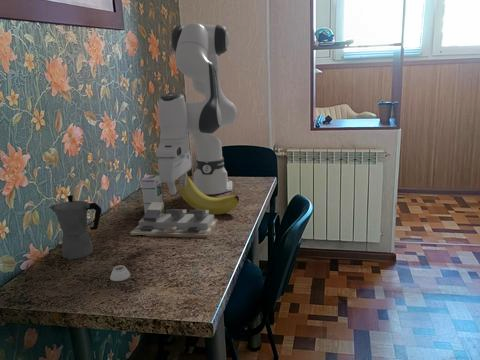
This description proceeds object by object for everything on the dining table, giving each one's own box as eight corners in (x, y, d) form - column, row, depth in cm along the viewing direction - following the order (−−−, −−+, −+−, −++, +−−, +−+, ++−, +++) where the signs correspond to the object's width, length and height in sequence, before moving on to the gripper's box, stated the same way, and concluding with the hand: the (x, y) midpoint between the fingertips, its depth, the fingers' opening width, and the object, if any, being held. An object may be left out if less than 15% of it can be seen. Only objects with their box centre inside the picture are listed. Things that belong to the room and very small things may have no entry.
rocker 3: (196, 217, 151) (196, 209, 152) (208, 217, 151) (208, 210, 151) (188, 217, 143) (189, 209, 143) (201, 217, 142) (201, 210, 142)
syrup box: (159, 216, 160) (155, 178, 157) (144, 216, 161) (140, 178, 158) (164, 211, 166) (161, 174, 162) (150, 211, 167) (146, 174, 163)
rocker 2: (174, 216, 153) (174, 209, 153) (186, 216, 152) (186, 209, 152) (165, 217, 144) (165, 209, 144) (178, 217, 143) (178, 209, 143)
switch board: (147, 220, 157) (147, 214, 156) (217, 221, 152) (217, 216, 152) (130, 235, 142) (129, 229, 142) (207, 237, 138) (207, 231, 137)
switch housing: (149, 218, 155) (148, 213, 155) (214, 219, 151) (213, 214, 151) (139, 227, 147) (138, 221, 146) (207, 229, 143) (207, 223, 142)
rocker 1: (153, 207, 154) (151, 202, 153) (164, 208, 154) (163, 202, 152) (144, 223, 147) (143, 217, 146) (156, 223, 146) (155, 217, 145)
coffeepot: (48, 259, 126) (39, 200, 122) (64, 246, 135) (56, 191, 131) (100, 259, 125) (92, 199, 120) (112, 246, 134) (105, 190, 129)
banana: (241, 211, 162) (239, 159, 157) (238, 217, 156) (235, 162, 152) (184, 210, 167) (180, 159, 162) (178, 214, 161) (174, 162, 156)
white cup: (131, 273, 116) (112, 274, 115) (130, 262, 115) (111, 264, 115) (128, 281, 111) (108, 283, 111) (127, 271, 110) (107, 272, 110)
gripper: (176, 141, 145) (179, 181, 149) (153, 152, 126) (157, 198, 129) (194, 141, 144) (197, 181, 147) (173, 152, 125) (177, 198, 128)
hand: (178, 189), depth 138 cm, fingers open, 8 cm apart
